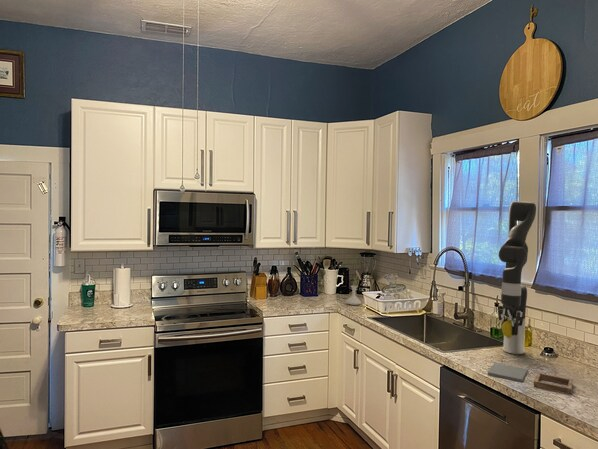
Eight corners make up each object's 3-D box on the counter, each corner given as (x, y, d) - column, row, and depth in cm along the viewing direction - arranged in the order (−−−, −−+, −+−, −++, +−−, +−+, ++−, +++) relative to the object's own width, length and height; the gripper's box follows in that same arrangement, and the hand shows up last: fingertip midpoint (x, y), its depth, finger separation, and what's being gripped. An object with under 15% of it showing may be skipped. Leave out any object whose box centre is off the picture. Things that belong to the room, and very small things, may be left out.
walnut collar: (537, 377, 181) (537, 372, 181) (572, 384, 174) (572, 379, 174) (533, 386, 170) (533, 381, 170) (571, 394, 163) (571, 389, 163)
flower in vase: (357, 306, 316) (358, 272, 315) (343, 304, 322) (344, 270, 321) (364, 304, 327) (365, 270, 326) (350, 302, 333) (352, 269, 332)
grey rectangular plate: (494, 364, 195) (495, 362, 195) (527, 371, 188) (527, 368, 188) (487, 374, 182) (487, 372, 182) (522, 382, 175) (522, 379, 175)
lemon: (501, 339, 183) (502, 320, 183) (501, 336, 188) (501, 317, 188) (516, 341, 181) (517, 321, 181) (515, 337, 186) (515, 319, 186)
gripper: (531, 296, 178) (529, 337, 178) (507, 290, 192) (506, 328, 193) (514, 296, 177) (513, 338, 177) (492, 290, 191) (491, 329, 191)
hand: (509, 333), depth 185 cm, fingers closed on lemon, 5 cm apart
